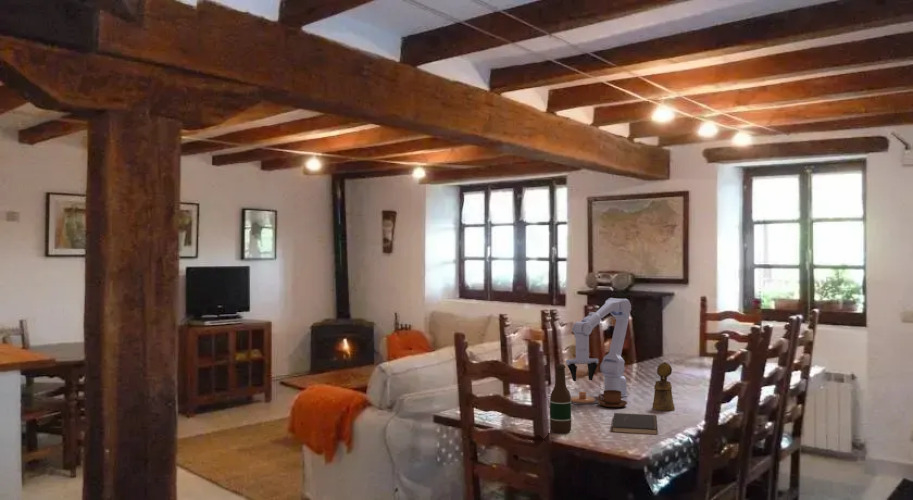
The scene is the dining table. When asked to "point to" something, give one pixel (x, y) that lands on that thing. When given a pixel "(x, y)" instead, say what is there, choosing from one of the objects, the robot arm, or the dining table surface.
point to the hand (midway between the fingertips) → (582, 380)
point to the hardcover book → (635, 423)
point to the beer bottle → (560, 404)
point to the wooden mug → (663, 389)
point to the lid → (582, 398)
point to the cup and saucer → (611, 399)
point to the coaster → (585, 403)
